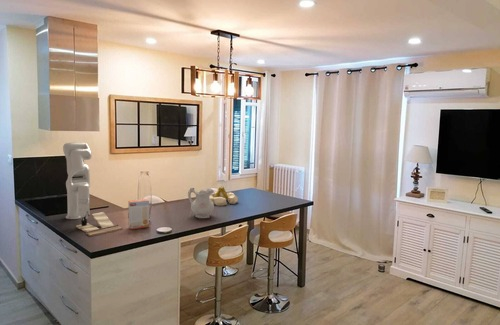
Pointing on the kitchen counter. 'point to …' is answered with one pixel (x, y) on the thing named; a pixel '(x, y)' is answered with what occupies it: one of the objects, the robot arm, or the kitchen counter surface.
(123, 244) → the kitchen counter surface
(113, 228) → the laid floor strip
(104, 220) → the plank far
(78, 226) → the plank near
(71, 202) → the robot arm
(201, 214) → the ceramic pitcher
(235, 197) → the campfire
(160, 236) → the kitchen counter surface
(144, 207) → the cracker box
